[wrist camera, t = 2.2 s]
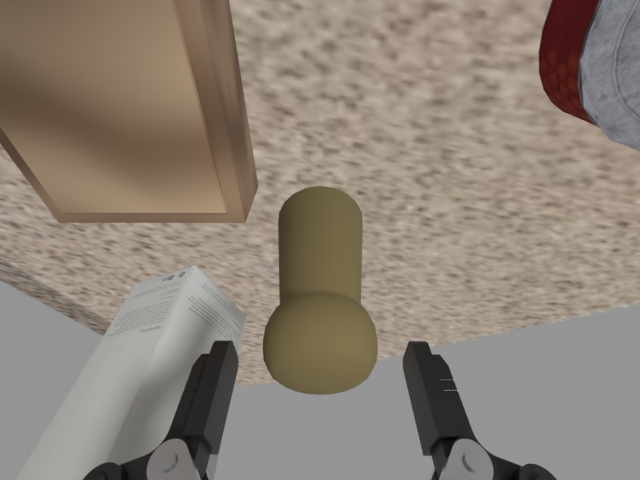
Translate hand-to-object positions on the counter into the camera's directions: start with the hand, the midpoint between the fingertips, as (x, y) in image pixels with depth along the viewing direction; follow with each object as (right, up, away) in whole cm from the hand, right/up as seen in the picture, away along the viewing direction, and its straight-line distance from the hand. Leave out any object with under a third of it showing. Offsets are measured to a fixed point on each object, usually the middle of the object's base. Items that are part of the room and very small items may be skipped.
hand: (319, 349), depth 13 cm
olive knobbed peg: (0, +6, +7) cm, 10 cm away
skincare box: (-11, 0, +13) cm, 17 cm away
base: (-9, +12, +2) cm, 15 cm away
